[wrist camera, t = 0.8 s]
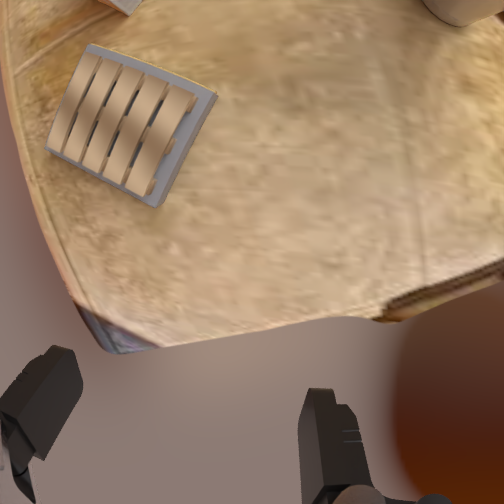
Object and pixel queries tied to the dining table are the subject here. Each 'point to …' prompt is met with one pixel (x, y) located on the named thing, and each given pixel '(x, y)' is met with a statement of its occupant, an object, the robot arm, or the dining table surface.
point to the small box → (123, 5)
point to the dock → (183, 133)
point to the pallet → (119, 121)
